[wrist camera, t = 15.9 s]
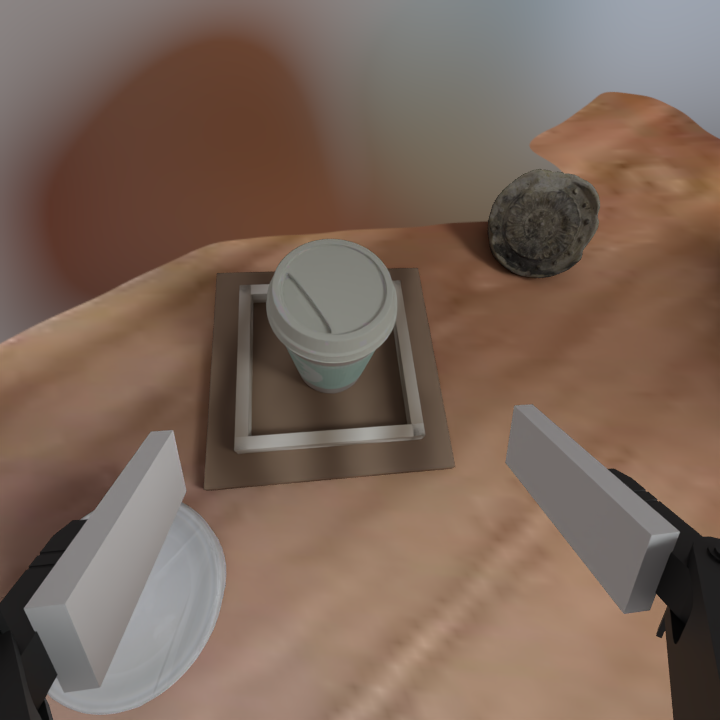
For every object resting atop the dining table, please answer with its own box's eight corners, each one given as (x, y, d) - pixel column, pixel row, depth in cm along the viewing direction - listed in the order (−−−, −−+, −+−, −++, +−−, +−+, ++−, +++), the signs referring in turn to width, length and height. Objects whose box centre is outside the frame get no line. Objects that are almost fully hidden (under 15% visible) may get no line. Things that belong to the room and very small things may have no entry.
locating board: (415, 273, 40) (421, 258, 38) (451, 468, 32) (461, 464, 30) (219, 279, 38) (212, 263, 35) (207, 490, 30) (197, 487, 28)
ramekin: (128, 481, 30) (90, 472, 25) (262, 525, 29) (251, 525, 25) (39, 648, 25) (-28, 677, 21) (197, 703, 25) (166, 745, 20)
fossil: (485, 281, 40) (513, 178, 34) (464, 247, 47) (484, 157, 41) (585, 284, 40) (632, 183, 34) (549, 250, 48) (583, 162, 41)
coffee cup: (283, 321, 35) (265, 230, 24) (374, 321, 36) (396, 232, 25) (280, 410, 32) (257, 350, 21) (381, 408, 33) (409, 349, 22)
